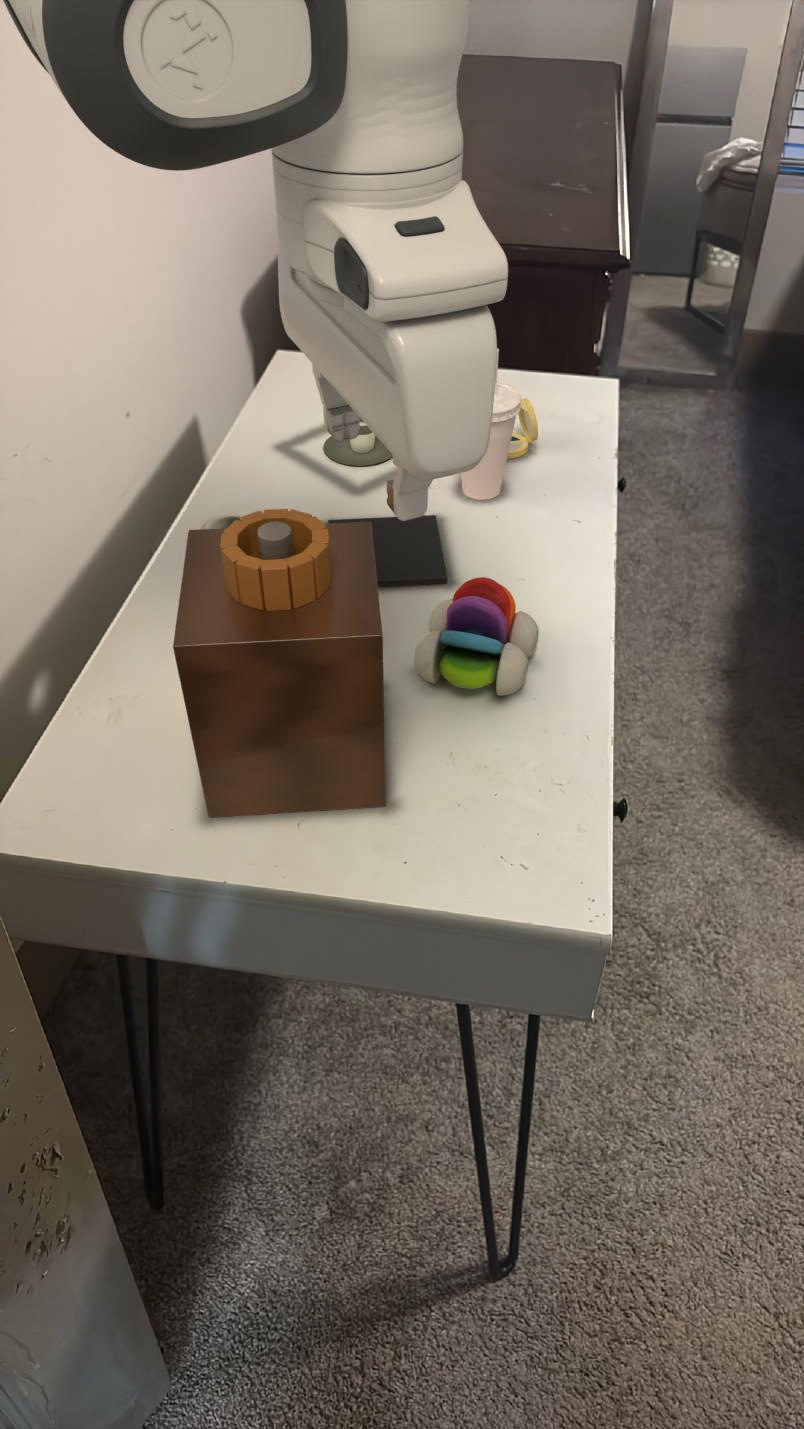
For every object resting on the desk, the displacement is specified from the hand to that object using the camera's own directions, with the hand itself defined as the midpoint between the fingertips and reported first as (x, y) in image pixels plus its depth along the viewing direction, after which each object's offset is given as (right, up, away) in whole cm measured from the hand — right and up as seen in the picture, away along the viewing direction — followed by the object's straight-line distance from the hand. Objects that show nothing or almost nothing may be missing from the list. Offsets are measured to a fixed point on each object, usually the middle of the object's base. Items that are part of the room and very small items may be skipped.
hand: (372, 471), depth 57 cm
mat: (0, +1, +32) cm, 32 cm away
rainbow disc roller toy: (+8, -10, +21) cm, 25 cm away
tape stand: (-6, -16, +14) cm, 23 cm away
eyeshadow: (+13, +14, +46) cm, 50 cm away
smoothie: (+9, +8, +40) cm, 42 cm away
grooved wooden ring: (-6, -6, +4) cm, 9 cm away
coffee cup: (-2, +13, +46) cm, 48 cm away
